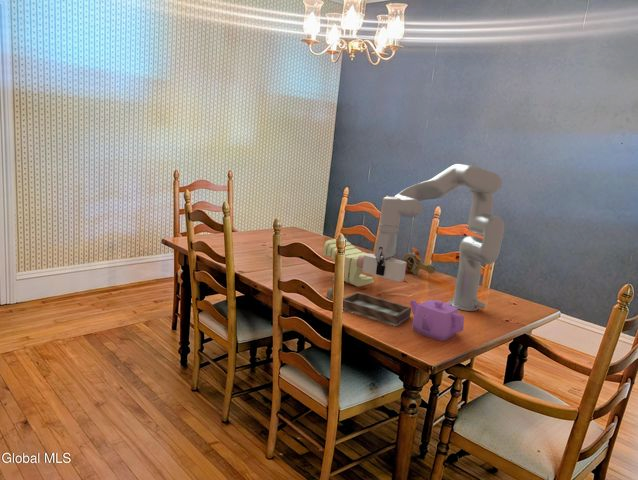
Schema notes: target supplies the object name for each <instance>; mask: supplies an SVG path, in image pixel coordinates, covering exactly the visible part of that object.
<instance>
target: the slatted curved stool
mask: <svg viewBox="0 0 638 480" xmlns="http://www.w3.org/2000/svg"><path fill="white" fill-rule="evenodd" d="M344 238H345V240H346V247H345V283H347V284H351V285H353V286H355V287H362V286H366V285H369V284H373V283H375V280H374V278H373V276H368V275H366V274H363V273H361V272H362V271H363V268H359V267H357V259H358V257H359V256H360V255H362V256H364V255H367V254H369V253H367V252H364V251H363V250H360V249H359V248H356V246H354V245H352V243H351V242H350V241H348V240H347V238H346V237H344ZM336 239H337V238H333V239H328V240H326V241H325V243H324V244H323V248H322V256H326V257H330V258H331V259H332V260H333V261H335V260H334V259H335V254H336V250H337V248H336Z"/></svg>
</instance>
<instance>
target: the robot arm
mask: <svg viewBox="0 0 638 480" xmlns="http://www.w3.org/2000/svg"><path fill="white" fill-rule="evenodd" d="M502 183H503V182H502V178H501V176H500V175H499V174H498V173H496V172H493V171H489V170H487V169H483V168H480V167H478V166H474V165H472V164H471V165H470V164H465V163H455V164H453V165H451V166H449V167H447V168H446V169H444V170H442V171H441V172H440V173H438V174H437V175H435V176H433V177H432V178H430V179H427V180H424V181H422V182H418V183H416V184H413V185H411V186H409V187H406V188H405V189H402V190H401V191H400V192H398V193H397V194H396V195H395V196H385V197H383V199H382V202H381V203H382V204H381V210H380V220H379V227H378V233H377V238H376V242H375V249H374V253H373V254H374V255H375V257H376V260H377V269H376V274H377V275H381V276H383V275H384V270H385V266H384V264H385V260H386V258H392V259H394V256H395V255H396V249H397V242H398V241H397V240H398V234H399V229H400V222H401V217H404V218H405V217H406V218H409V219H410V218H411V219H412V218H413V219H414V218H417V217H419V216H420V215H421V214H422V212H423V209H424V208H423V204H422V202H421V201H427V200H438V199H441V198H443V197H445V196H446V195H447V194H449V193H451V192H452V191H454V190H455V189H457V188H458V187H461V186H462V187H466V188H467V189H468V191H469V192H470V195H471V197H472V198H471V200H472V201H471V208H470V212H469V217H468V222H467V228H468V230H469V231H470V232H471V233H473V234H475V235H479V236H480V237H479V236H475V235H468V236H465V237H464V238H462V239H461V241H460V243H459V248H458V249H459V251H458V252H459V262H458V267H457V268H458V270H457V276H456V282H455V287H454V295H453V298H452V299H449V302H448V303H450V304H452V306H453V307H455V308H457V309H458V310H460V311H466V312H475V311H477V310H479V308H482V309H486V303H485V302H484V301H483V302H482V301H480V300H479V297H477V296H478V290H479V286H480V281H481V274H482V264H485V265H492V264H494V263H495V262H496V261H497V260H498V258H499V255H500V252H501V247H502V244H503V239H504V234H505V222H504V220H503V219H502V218H501V217H500V216H497V215H494V214H493V208H494V207H493V206H494V196H493V194H495V193H497V192H498V191H500V189H501V187H502ZM481 236H482V237H483V238H481ZM381 256H383V258H382V257H381ZM381 259H383V262H382V260H381Z"/></svg>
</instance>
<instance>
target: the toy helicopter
mask: <svg viewBox="0 0 638 480" xmlns="http://www.w3.org/2000/svg"><path fill="white" fill-rule="evenodd" d="M411 249H412V251H413V252H409V253H406V254H404V255H403V257H402V261H405V262H407V263H406V270H405V273H407V272H409V273H412V274H413V275H418V274H419V271H420V270H423V271H426V273H428V275H429V274H434V273H435V272H436V267H435V265H434V264H432V263H430V264H428V263H427V264H426V263H424V262H422V258H421V255H420V252H419V251H418V248H416V247H414V246H412V247H411Z"/></svg>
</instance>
